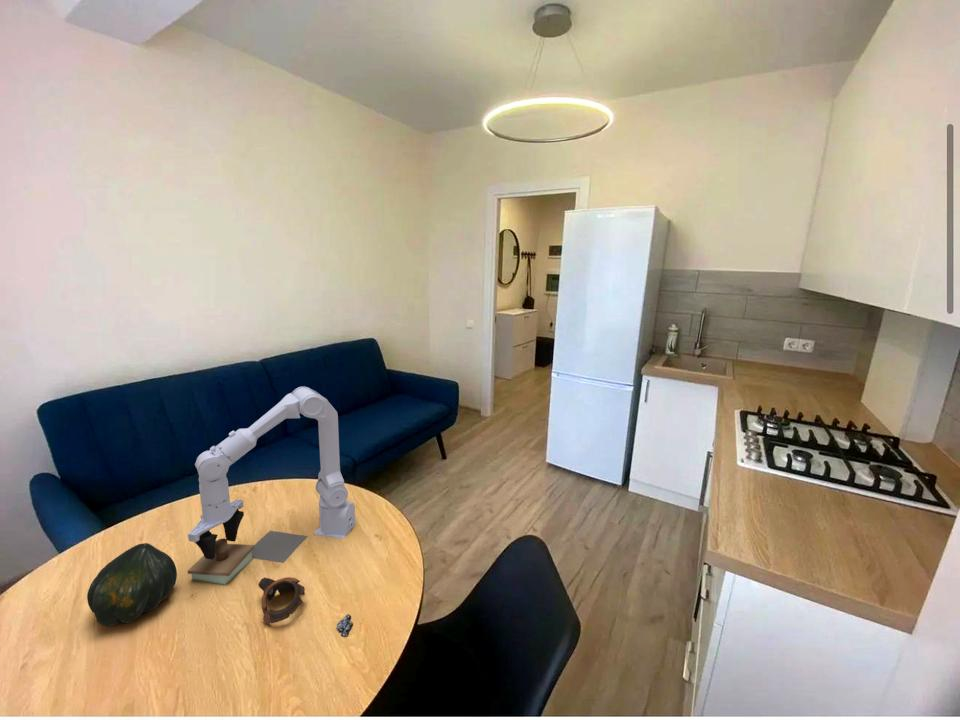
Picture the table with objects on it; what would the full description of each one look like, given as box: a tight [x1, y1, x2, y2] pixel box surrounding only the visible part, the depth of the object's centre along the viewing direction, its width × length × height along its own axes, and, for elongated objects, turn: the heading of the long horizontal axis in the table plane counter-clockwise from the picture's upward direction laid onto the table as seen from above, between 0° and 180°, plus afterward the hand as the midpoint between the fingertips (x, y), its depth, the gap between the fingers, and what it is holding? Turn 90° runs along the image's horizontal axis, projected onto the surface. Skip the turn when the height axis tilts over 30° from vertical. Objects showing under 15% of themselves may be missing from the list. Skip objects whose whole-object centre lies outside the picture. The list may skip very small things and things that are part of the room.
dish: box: [190, 551, 253, 586], centre depth 98 cm, size 9×9×3 cm
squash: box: [86, 542, 178, 627], centre depth 86 cm, size 14×15×15 cm
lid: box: [187, 537, 255, 576], centre depth 97 cm, size 10×10×5 cm
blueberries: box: [336, 614, 360, 638], centre depth 84 cm, size 7×8×2 cm
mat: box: [252, 530, 309, 564], centre depth 108 cm, size 12×11×1 cm
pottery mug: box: [258, 576, 306, 625], centre depth 88 cm, size 12×10×8 cm
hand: (221, 548), depth 97 cm, fingers open, 6 cm apart
